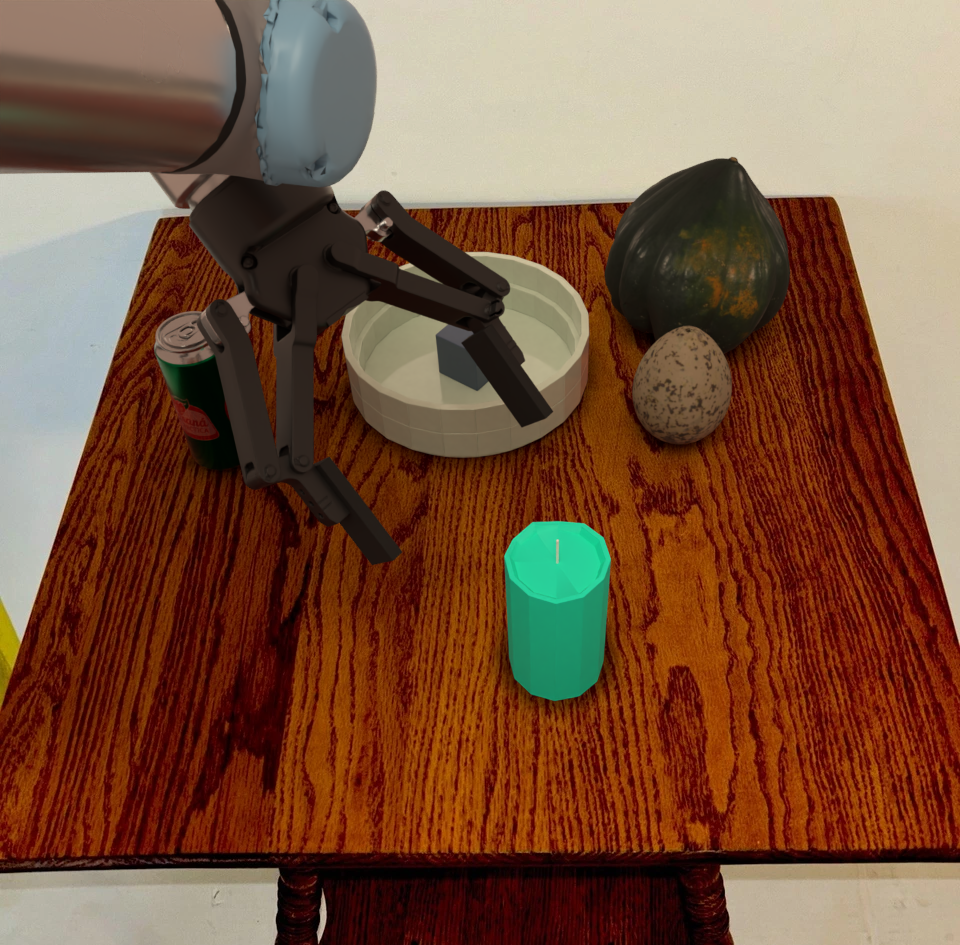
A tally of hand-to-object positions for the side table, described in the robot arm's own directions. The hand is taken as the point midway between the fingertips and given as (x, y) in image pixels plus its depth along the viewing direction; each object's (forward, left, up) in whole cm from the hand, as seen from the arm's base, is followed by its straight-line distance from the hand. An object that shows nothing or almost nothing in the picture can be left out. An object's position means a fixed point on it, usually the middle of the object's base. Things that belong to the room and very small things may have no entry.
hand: (466, 486), depth 60 cm
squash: (+33, +9, -12) cm, 36 cm away
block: (+15, +17, -11) cm, 26 cm away
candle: (+1, -7, -12) cm, 14 cm away
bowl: (+15, +17, -12) cm, 26 cm away
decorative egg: (+22, +1, -12) cm, 25 cm away
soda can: (-4, +24, -12) cm, 28 cm away
